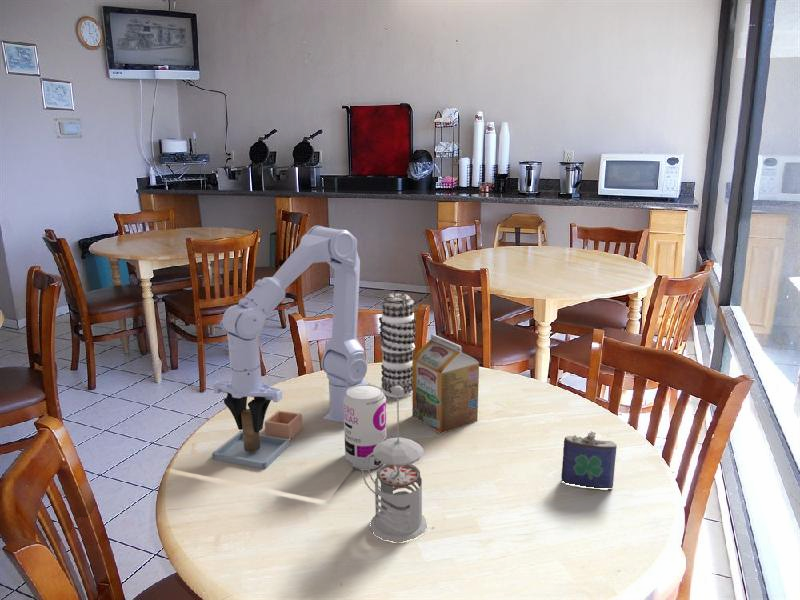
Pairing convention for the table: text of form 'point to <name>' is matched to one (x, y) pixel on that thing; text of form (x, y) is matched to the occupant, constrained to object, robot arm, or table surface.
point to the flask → (588, 461)
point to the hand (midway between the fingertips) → (250, 429)
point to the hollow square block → (283, 424)
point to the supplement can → (364, 424)
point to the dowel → (249, 432)
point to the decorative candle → (397, 343)
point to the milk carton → (444, 385)
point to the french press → (397, 487)
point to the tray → (257, 459)
